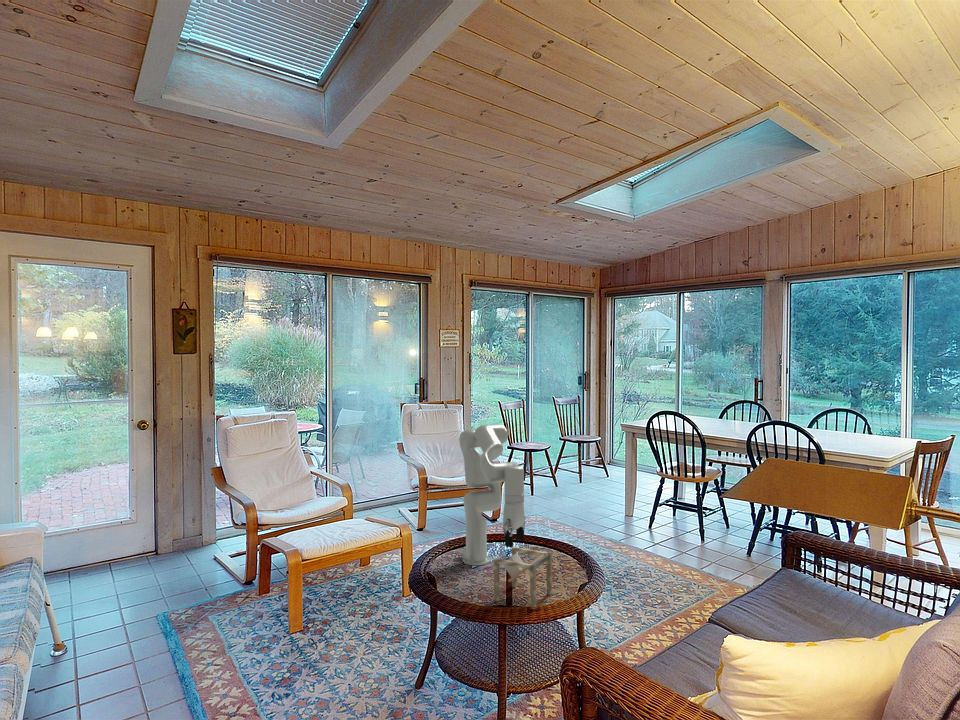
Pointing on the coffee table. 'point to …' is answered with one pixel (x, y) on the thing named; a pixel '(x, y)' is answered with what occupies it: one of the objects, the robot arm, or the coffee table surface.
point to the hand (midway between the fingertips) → (514, 543)
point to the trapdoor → (525, 569)
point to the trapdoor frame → (532, 568)
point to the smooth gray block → (511, 569)
